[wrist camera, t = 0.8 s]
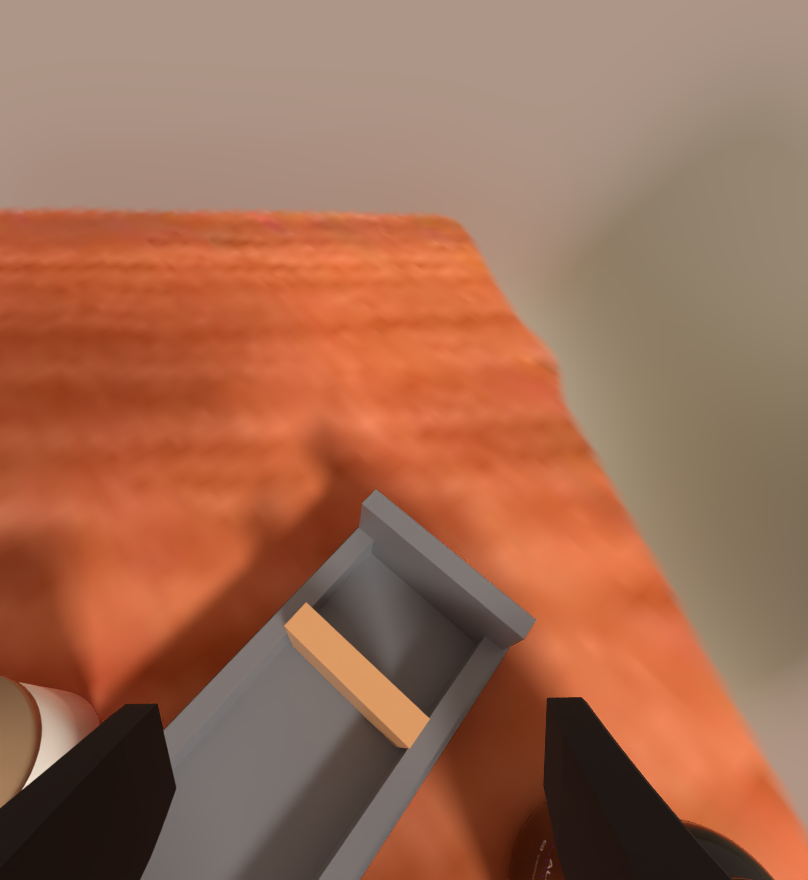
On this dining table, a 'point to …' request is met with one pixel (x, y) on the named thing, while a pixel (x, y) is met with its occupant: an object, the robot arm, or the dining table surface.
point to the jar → (37, 731)
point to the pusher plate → (356, 678)
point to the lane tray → (331, 714)
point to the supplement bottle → (542, 875)
